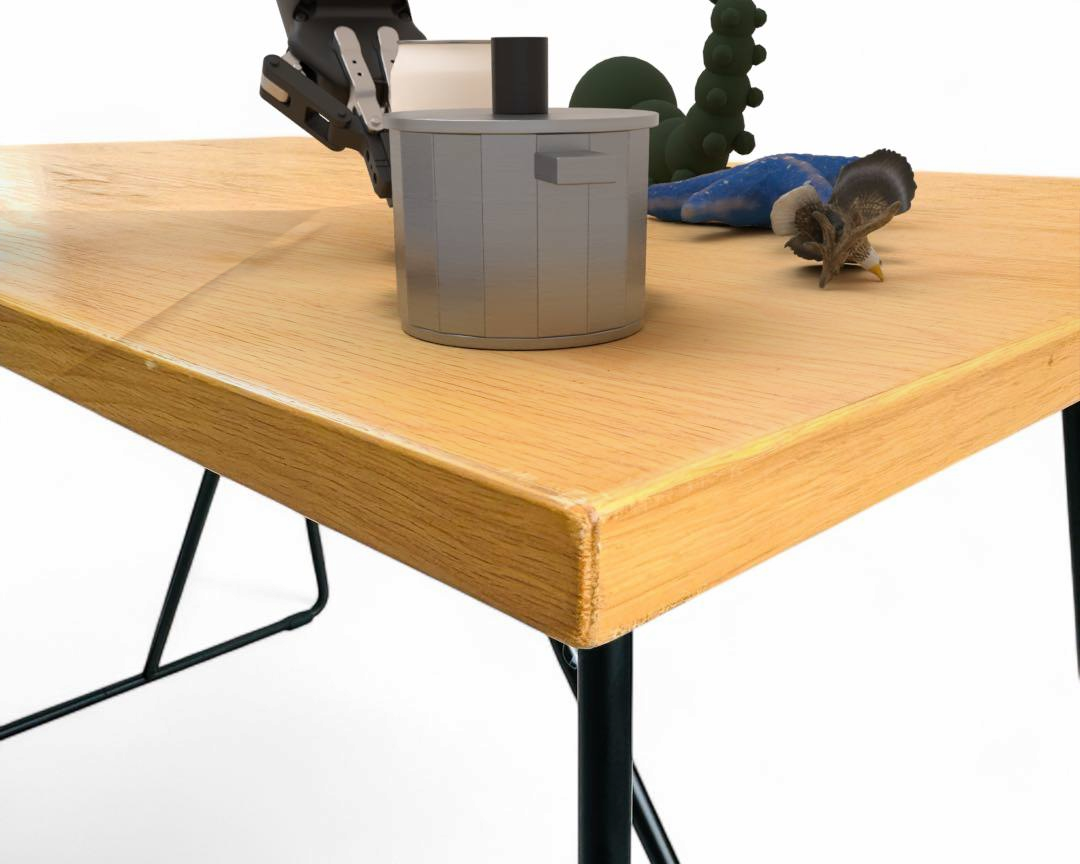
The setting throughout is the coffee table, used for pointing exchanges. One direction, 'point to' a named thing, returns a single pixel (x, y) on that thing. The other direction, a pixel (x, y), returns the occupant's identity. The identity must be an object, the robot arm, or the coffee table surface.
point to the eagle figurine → (846, 213)
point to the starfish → (745, 189)
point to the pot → (520, 237)
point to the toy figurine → (719, 97)
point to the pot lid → (519, 102)
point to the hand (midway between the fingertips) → (406, 197)
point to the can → (441, 75)
